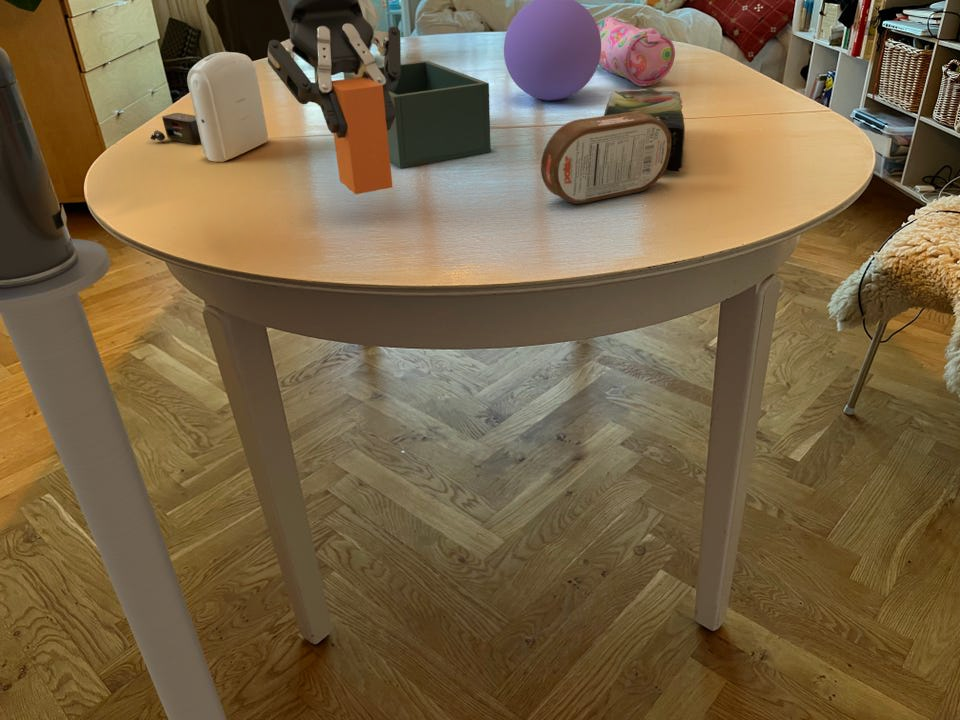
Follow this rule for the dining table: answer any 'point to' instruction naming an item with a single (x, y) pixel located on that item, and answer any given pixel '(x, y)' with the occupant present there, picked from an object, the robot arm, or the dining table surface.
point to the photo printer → (227, 105)
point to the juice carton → (654, 114)
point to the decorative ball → (552, 48)
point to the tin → (605, 156)
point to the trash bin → (437, 115)
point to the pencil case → (635, 51)
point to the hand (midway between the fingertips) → (365, 129)
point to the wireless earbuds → (179, 128)
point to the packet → (363, 136)
